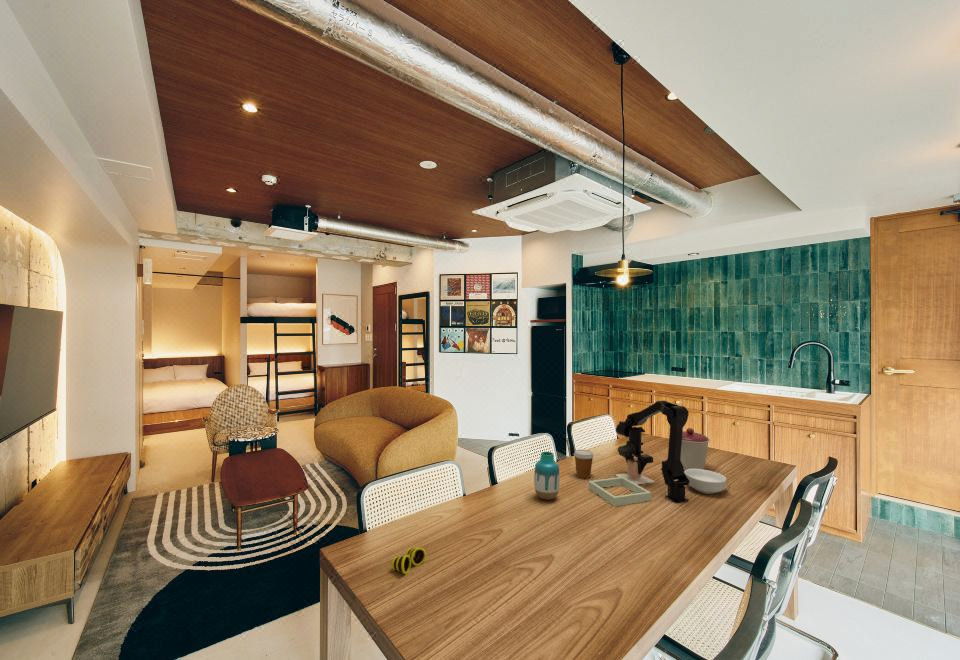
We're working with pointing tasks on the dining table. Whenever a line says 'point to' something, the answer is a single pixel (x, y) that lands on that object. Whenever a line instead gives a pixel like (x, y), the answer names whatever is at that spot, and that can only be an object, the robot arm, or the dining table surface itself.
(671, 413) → the robot arm
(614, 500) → the shallow rimmed tray
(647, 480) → the potting mat
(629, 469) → the terracotta pot
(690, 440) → the canister
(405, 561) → the opera glasses
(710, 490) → the cereal bowl
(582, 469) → the disposable coffee cup
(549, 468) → the vase
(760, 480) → the dining table surface
